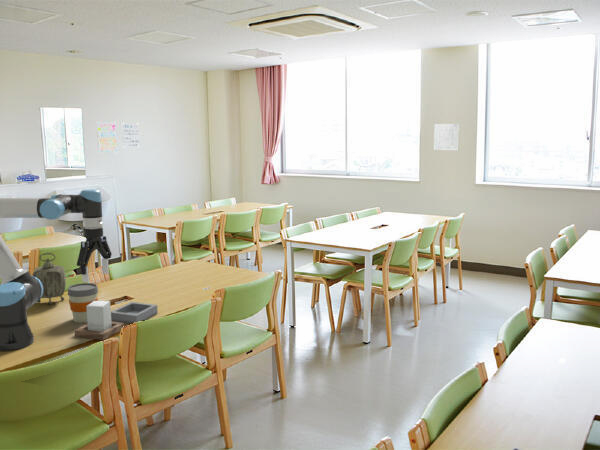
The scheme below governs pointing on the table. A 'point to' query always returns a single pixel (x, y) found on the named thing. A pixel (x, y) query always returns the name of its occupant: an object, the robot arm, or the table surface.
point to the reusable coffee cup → (81, 299)
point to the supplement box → (99, 316)
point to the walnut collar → (103, 335)
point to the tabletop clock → (51, 279)
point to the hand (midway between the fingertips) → (95, 277)
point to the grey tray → (133, 312)
